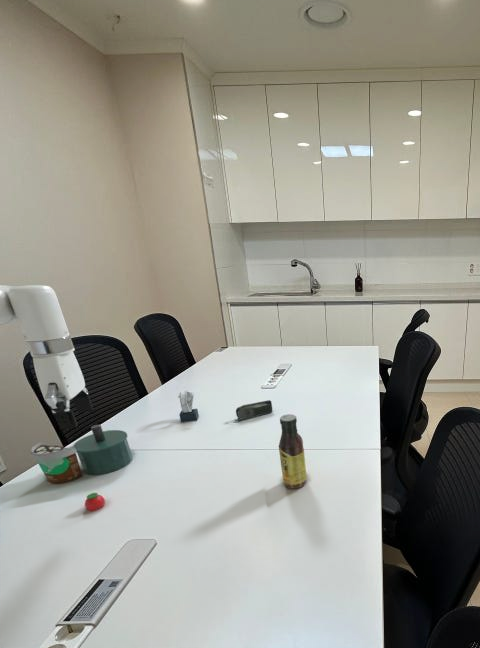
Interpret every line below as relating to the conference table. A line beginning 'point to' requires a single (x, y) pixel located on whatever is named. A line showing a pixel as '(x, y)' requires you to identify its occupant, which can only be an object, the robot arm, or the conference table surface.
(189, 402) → the stone sculpture
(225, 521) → the conference table surface
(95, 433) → the lid
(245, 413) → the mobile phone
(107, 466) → the pot
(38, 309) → the robot arm
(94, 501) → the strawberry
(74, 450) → the food container
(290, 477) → the sauce bottle
